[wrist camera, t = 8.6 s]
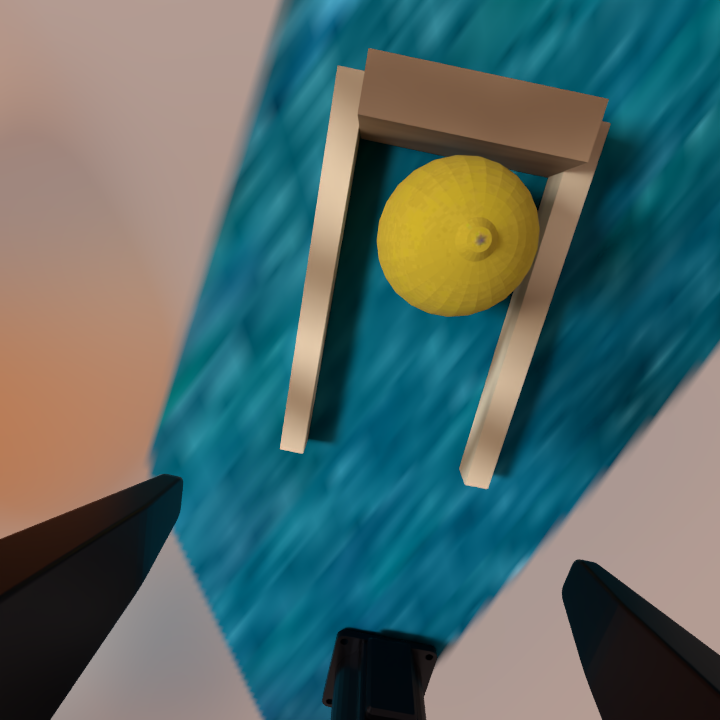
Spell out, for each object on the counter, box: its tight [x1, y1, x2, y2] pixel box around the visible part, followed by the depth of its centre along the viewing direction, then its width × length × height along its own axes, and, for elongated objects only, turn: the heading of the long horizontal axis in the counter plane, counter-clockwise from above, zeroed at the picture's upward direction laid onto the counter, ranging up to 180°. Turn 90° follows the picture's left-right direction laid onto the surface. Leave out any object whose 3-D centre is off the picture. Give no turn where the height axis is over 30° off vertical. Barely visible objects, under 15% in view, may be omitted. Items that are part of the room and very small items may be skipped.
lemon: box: [377, 155, 540, 317], centre depth 15 cm, size 6×6×8 cm
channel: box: [280, 48, 611, 489], centre depth 18 cm, size 17×11×4 cm, turn 169°
